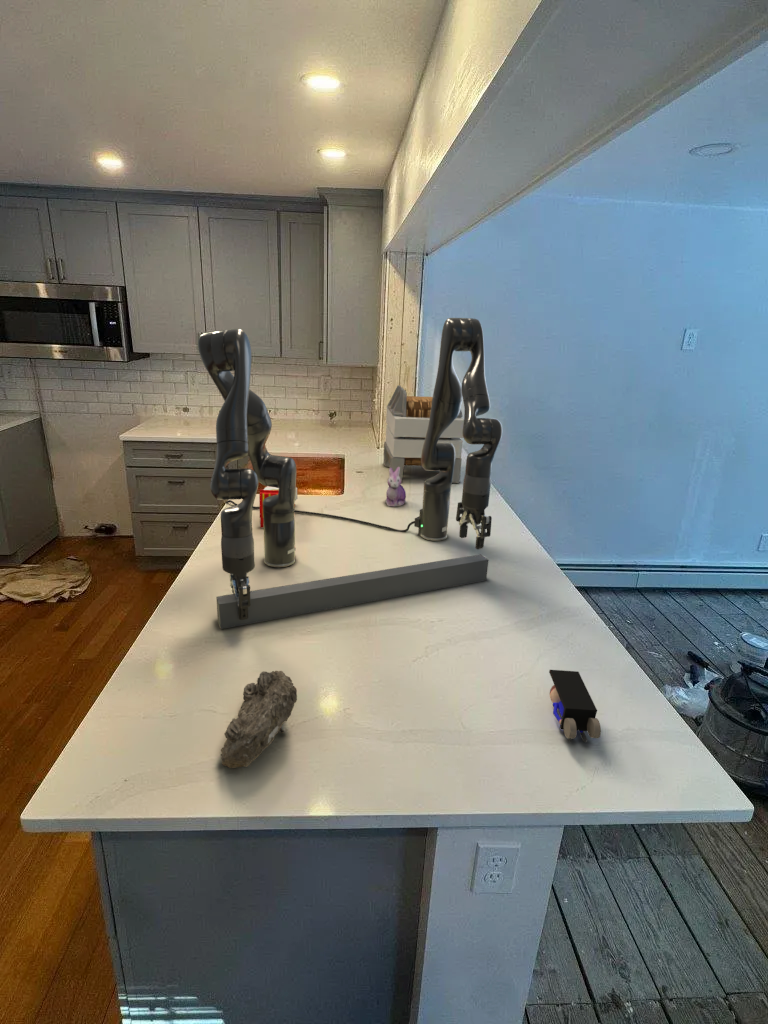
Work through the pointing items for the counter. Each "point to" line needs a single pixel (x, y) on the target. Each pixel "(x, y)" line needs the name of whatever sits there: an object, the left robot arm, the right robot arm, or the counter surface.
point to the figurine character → (573, 705)
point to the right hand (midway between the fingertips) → (470, 542)
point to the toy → (264, 494)
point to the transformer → (415, 432)
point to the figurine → (395, 489)
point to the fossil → (258, 718)
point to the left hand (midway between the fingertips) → (240, 612)
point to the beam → (351, 590)
